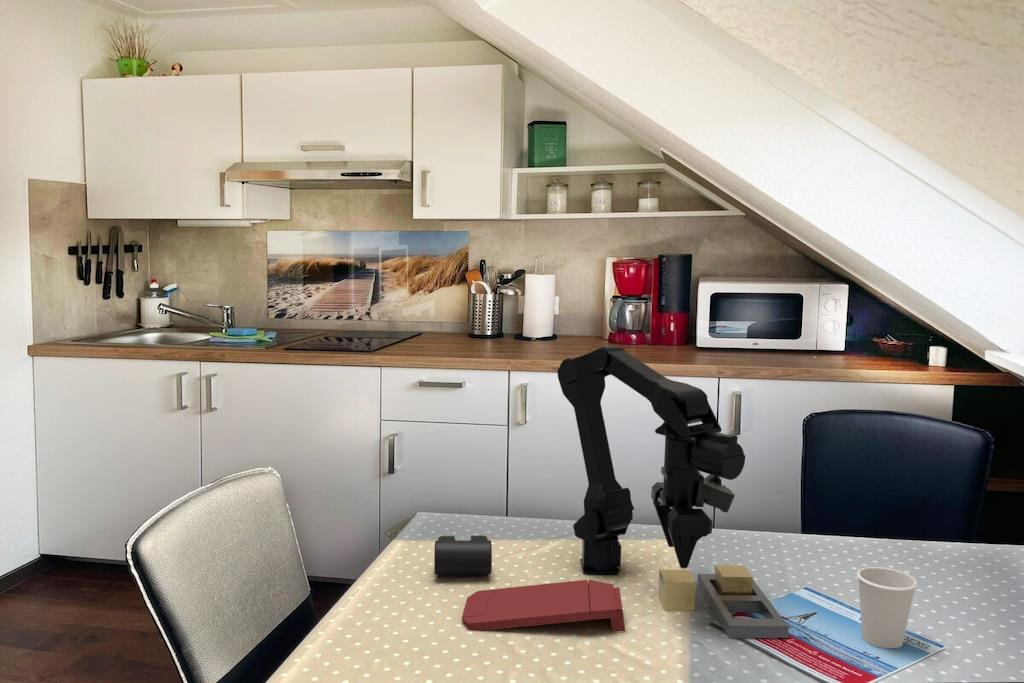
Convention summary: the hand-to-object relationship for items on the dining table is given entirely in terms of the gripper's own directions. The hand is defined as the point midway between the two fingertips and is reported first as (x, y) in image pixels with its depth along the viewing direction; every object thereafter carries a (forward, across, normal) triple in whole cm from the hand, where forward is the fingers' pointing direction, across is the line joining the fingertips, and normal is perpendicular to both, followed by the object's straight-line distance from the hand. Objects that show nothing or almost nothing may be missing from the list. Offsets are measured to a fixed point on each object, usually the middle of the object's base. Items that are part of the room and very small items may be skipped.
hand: (677, 556), depth 136 cm
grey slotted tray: (+8, -2, -10) cm, 13 cm away
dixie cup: (+8, -12, -29) cm, 33 cm away
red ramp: (+9, -5, +22) cm, 25 cm away
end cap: (+8, +11, +36) cm, 38 cm away
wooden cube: (+8, 0, 0) cm, 8 cm away
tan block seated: (+8, +2, -10) cm, 13 cm away
